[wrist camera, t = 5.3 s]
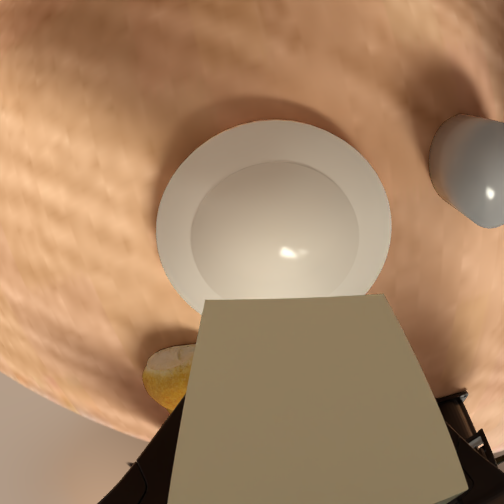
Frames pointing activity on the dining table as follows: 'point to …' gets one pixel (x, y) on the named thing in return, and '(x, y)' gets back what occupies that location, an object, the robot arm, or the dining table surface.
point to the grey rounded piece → (470, 167)
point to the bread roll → (169, 375)
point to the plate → (273, 217)
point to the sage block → (310, 409)
